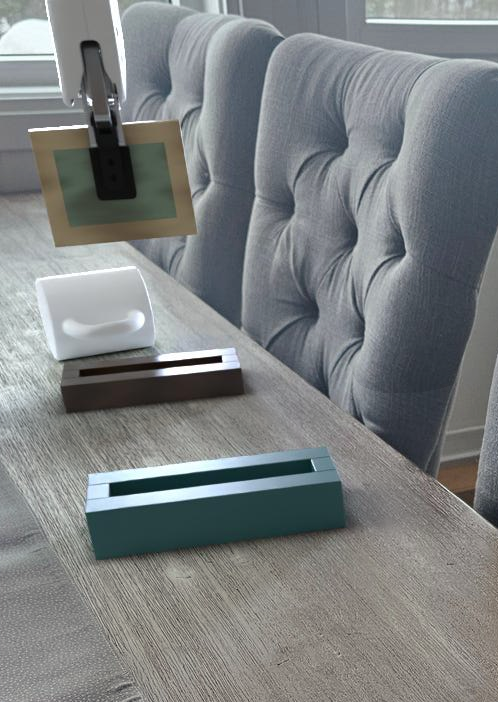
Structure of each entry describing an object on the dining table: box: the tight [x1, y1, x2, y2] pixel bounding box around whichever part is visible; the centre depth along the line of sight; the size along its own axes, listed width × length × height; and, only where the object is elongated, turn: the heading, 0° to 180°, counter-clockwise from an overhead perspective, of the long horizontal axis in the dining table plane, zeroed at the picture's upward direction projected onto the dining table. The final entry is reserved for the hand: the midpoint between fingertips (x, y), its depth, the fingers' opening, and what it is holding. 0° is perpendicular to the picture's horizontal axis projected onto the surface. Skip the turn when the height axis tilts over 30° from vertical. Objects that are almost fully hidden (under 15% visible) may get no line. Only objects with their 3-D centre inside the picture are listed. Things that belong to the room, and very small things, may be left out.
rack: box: [59, 346, 246, 414], centre depth 105 cm, size 16×7×2 cm, turn 105°
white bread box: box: [34, 265, 156, 361], centre depth 114 cm, size 12×10×8 cm
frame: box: [28, 118, 199, 248], centre depth 95 cm, size 12×1×9 cm, turn 105°
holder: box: [84, 445, 347, 561], centre depth 79 cm, size 17×7×4 cm, turn 105°
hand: (117, 195), depth 95 cm, fingers closed on frame, 1 cm apart
